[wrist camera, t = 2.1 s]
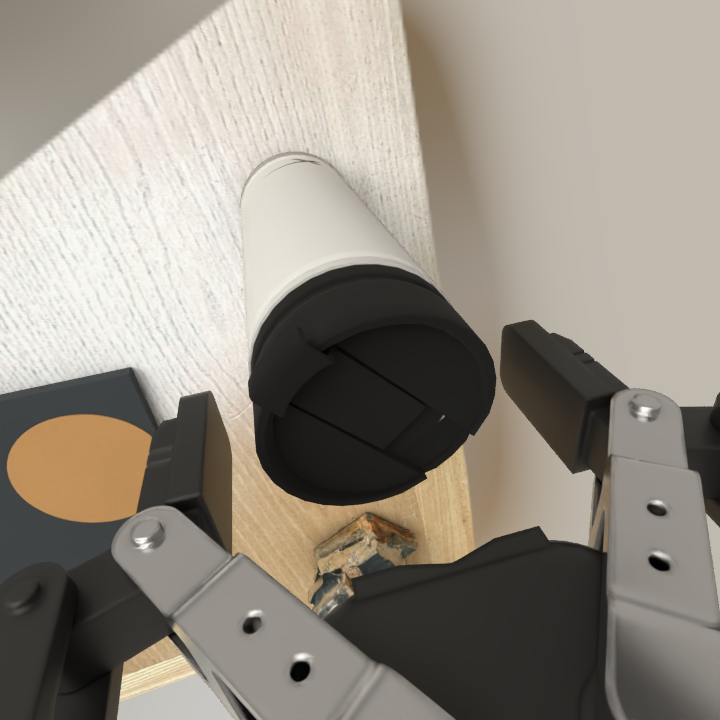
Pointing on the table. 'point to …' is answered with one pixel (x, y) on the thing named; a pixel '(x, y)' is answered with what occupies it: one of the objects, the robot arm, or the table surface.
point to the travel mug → (348, 343)
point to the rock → (356, 558)
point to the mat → (70, 468)
